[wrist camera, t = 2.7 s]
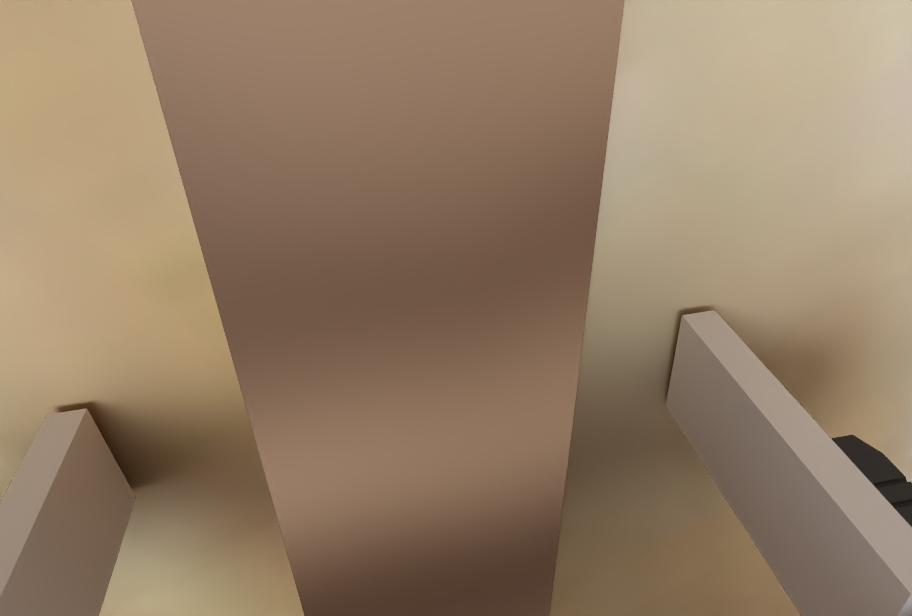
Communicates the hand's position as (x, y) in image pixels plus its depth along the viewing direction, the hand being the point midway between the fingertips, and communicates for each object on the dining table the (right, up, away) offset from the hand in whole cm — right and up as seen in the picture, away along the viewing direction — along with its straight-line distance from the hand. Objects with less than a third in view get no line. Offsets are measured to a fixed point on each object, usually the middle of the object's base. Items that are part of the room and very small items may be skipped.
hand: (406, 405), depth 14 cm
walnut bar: (0, 0, 0) cm, 0 cm away
